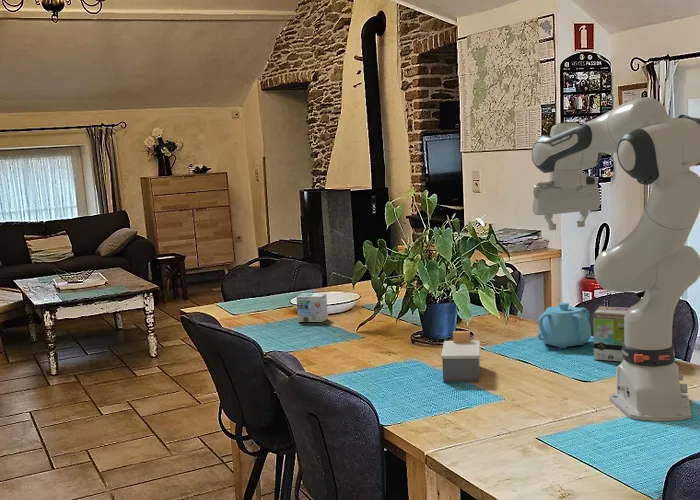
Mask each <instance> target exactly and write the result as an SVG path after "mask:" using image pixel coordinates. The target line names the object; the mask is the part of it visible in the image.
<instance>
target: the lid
mask: <svg viewBox="0 0 700 500" xmlns="http://www.w3.org/2000/svg"><path fill="white" fill-rule="evenodd" d="M442 345H443V346H442V349H441V354H440V359H441V360H442V359H463V358H479V359H480V356H481V355H480V353H481V352H480V350H481V347H480V346H481V340H471V331H470V330H461V331H460V330H458V331H457V330H455V331H452V340H444V341H443V344H442Z"/></svg>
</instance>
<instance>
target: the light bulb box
mask: <svg viewBox="0 0 700 500" xmlns="http://www.w3.org/2000/svg"><path fill="white" fill-rule="evenodd" d="M296 309H297V323H298V322H323V321H325V320H326V319H328V320H329V315H328V314H329V313H328V299H327V293H326V292H324V293H321V292H319V293H315V292H313V293H310V292H309V293H306V292H304V293H300V294H299V295H296ZM326 321H327V320H326ZM326 321H325V322H326ZM323 323H324V322H323Z"/></svg>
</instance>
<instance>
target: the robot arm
mask: <svg viewBox="0 0 700 500" xmlns="http://www.w3.org/2000/svg"><path fill="white" fill-rule="evenodd" d="M604 153H605V154H607V153H609V154H614V153H616V156H617V161H618V163H619V166H620V167H621V169H622V170H623V171H624V172H626V174H627V175H628V176H629V177H631V178H633V179H636V181H637V183H638V184H641V185H644V186H649V185H651V193H650V195H649V197H648V199H647V202H646V205H645V207H644V209H643V212H642V214H641V216H640V219H639V221H638V222H637V225H636V226H635V227H634V228H633V230H631V232H629V234H628V235H626V236H625V237H624V238H623V239H622V240H621V241H619V242H618V243H617V244H615V245H614V246H612V247H610V248H608V249H606V250H603V251H601V252H600V253H599V254H597V255H598V256H597V257H596V259H595V260H594V264H593V274H594V279H595V281H596V282H597V284H598V285H599V286H600V287H601V288H602V289H604V290H606V291H613V292H620V293H621V292H622V293H627V292H642V291H645V292H644V295H643V296H642V298H640V300H639V301H638V302H637V303H635V304H633V305H632V306H630V307H628V308H629V309H628V310H627V312H626V314H625V316H624V343H623V348H622V353H623V361H622V362H620V363H619V364H618V366H616V372H615V373H616V374H615V375H616V376H615V378H616V380H615V392H614V393H611V394H609V396H608V400H609V401H611V402H612V404H613V405H615V406H616V407H617V408H618V409H619V410H620V411H621V412H623V413H624V415H626V416H627V417H628V418H630V419H634V420H642V421H652V422H653V421H654V422H655V421H656V422H667V421H668V422H669V421H673V422H674V421H683V420H688V419H691V418H692V413H691V412H692V411H691V404H690V399H689V395H688V391H689V390H688V384H687V383H680V381H684V375H683V374H679V373H680V370H679V369H680V366H679V365H678V364H676V363H675V361H676V360H675V359H676V358H675V357H676V356H675V354H676V352H675V351H676V350H675V349H674V348H675V347H674V345H673V321H674V315H675V312H676V311H675V309H676V307H677V305H678V303H679V301H680V300H681V298H682V296H683V294H684V293H685V292H686V291H687V290H688V289H689V288H690V287H691V286H692V285H694V283H696V282H697V281H698V279H699V278H700V255H699V253H698V252H697V251H696V250H695V249H694V247H692V246H689V245H685V244H686V242H687V241H688V238H689V236H690V233H691V232H692V230H693V228H694V224H695V223H696V221H697V218H698V216H699V213H700V175H698V173H696V172H694V171H692V170H691V167H695V166H696V167H698V166H700V118H699V117H692V116H688V115H686V114H679V116H678V117H671V116H669V115H668V112H667V110H666V108H665V106H664V105H663V103H662V102H660V101H659V100H658V99H655V98H653V97H645V96H644V97H640V98H639V97H638V98H635V99H632V100H629V101H626V102H624V103H622V104H619V105H617V106H615V107H614V108H612V109H611V110H609V111H606V112H605V113H603V114H601V115H599V116H598V117H596V118H593V119H590V120H589V121H586V122H584V123H583V124H579V123H578V122H576V121H566V122H560V123H559V122H558V123H556V124H554V125H553V126H552V127H551V129H550V134H549V135H541V136H540V137H539V138H537V140H536V141H535V142H534V144H533V146H532V148H531V160H532V164H533V165H534V166H535V168H536V169H538V170H540V172H541V173H543V174H549V181H545V182H544V181H543V182H541V181H540V182H538V183H537V184H535V185H534V187H533V201H532V213H533V214H534V215H535V216H544V220H545V221H546V223H547V224H548V225H547V226H548V230H549V231H556V230H557V223H554V222H553V220H552V219H553V218H554V215H560V214H570V213H579V214H580V215H581V216H580V217H579V220H577V221H576V223H577V224H576V227H577V228H585V226H586V221H587V218H588V216H589V212H590V211H591V212H592V211H598V210H599V208H600V206H601V196H600V189H599V187H598V186H597V185H598V183H599V178H598V177H596V176H593V175H589V174H586V173H583V170H587V169H591V168H592V169H593V168H595V167H596V166H597V165H598V164H599V162H600V161H601V159H602V157H603V155H602V154H604Z"/></svg>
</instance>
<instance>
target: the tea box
mask: <svg viewBox="0 0 700 500" xmlns="http://www.w3.org/2000/svg"><path fill="white" fill-rule="evenodd" d="M629 308H630V307H622V306H621V307H620V306H619V307H618V306H600V305H599V306H598V308H597V309H596V310H595V311H594V312H593V329H592V331H593V335H592V336H593V346H592V347H593V361H595V360H596V361H611V362H620V363H622V361H623V353H622V348H623V343H624V316H625V314H626V312H627V310H628V309H629Z"/></svg>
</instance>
